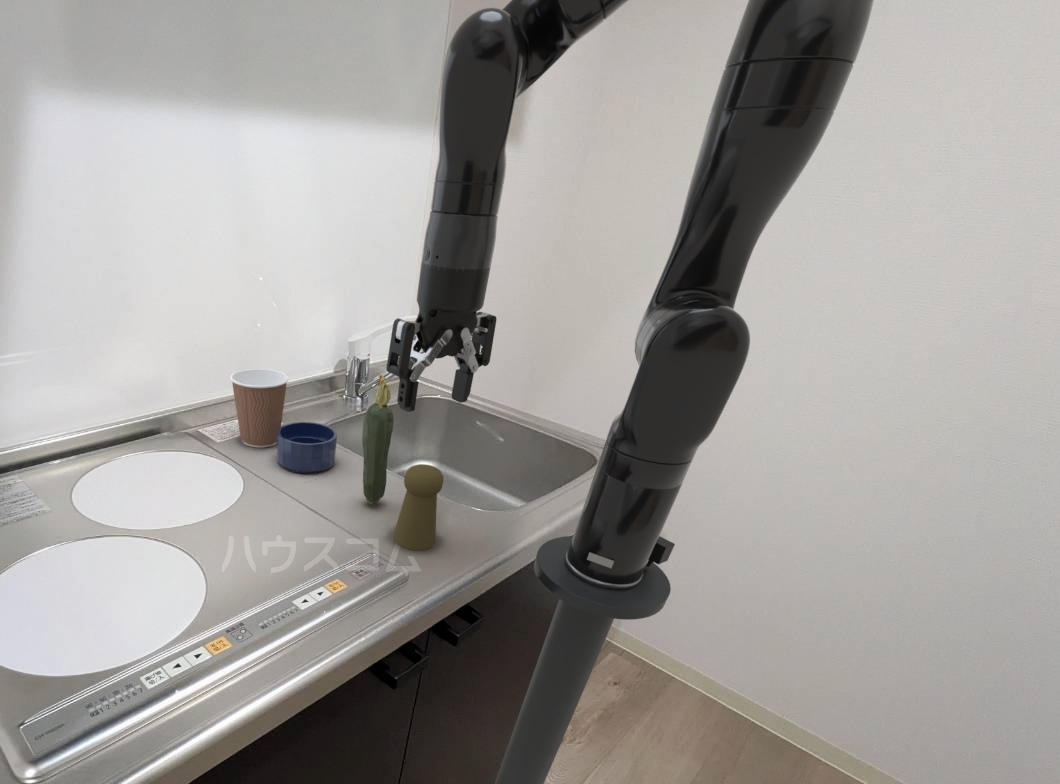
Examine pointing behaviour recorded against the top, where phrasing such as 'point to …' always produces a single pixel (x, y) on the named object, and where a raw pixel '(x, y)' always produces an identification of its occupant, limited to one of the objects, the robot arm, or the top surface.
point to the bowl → (306, 446)
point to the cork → (419, 508)
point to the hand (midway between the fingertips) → (433, 405)
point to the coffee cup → (259, 405)
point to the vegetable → (377, 443)
